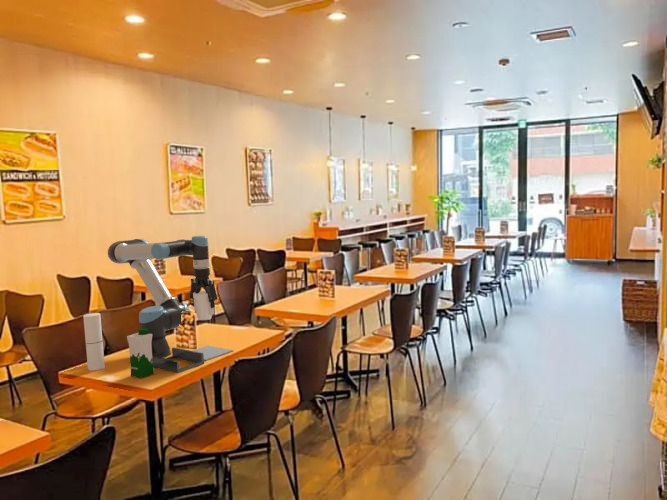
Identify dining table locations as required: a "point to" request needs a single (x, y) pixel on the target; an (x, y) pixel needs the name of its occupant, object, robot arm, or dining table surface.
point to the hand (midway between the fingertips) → (204, 313)
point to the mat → (212, 352)
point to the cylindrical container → (94, 341)
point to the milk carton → (141, 353)
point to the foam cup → (202, 305)
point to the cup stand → (174, 365)
